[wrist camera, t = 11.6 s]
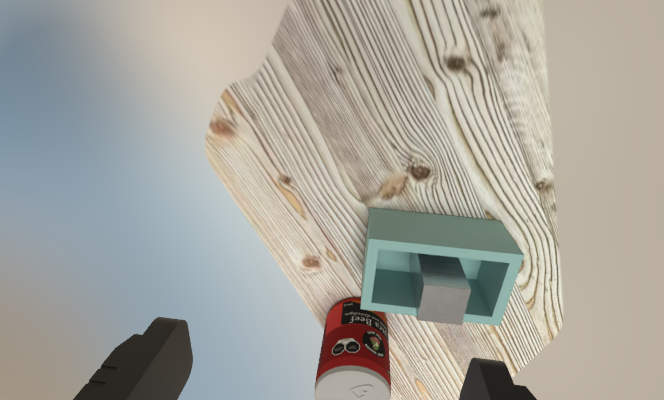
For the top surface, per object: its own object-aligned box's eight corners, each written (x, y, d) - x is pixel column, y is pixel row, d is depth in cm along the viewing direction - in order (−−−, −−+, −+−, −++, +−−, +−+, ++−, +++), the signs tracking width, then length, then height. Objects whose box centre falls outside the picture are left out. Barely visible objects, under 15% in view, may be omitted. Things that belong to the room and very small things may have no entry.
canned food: (399, 316, 45) (407, 395, 35) (361, 350, 48) (358, 432, 38) (350, 285, 44) (344, 358, 34) (315, 322, 47) (299, 399, 37)
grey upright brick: (413, 233, 39) (424, 285, 31) (450, 236, 39) (471, 290, 30) (408, 263, 41) (417, 319, 33) (443, 266, 40) (461, 324, 32)
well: (369, 207, 39) (368, 238, 33) (500, 220, 38) (524, 255, 32) (362, 270, 42) (360, 309, 37) (481, 284, 41) (499, 325, 36)
